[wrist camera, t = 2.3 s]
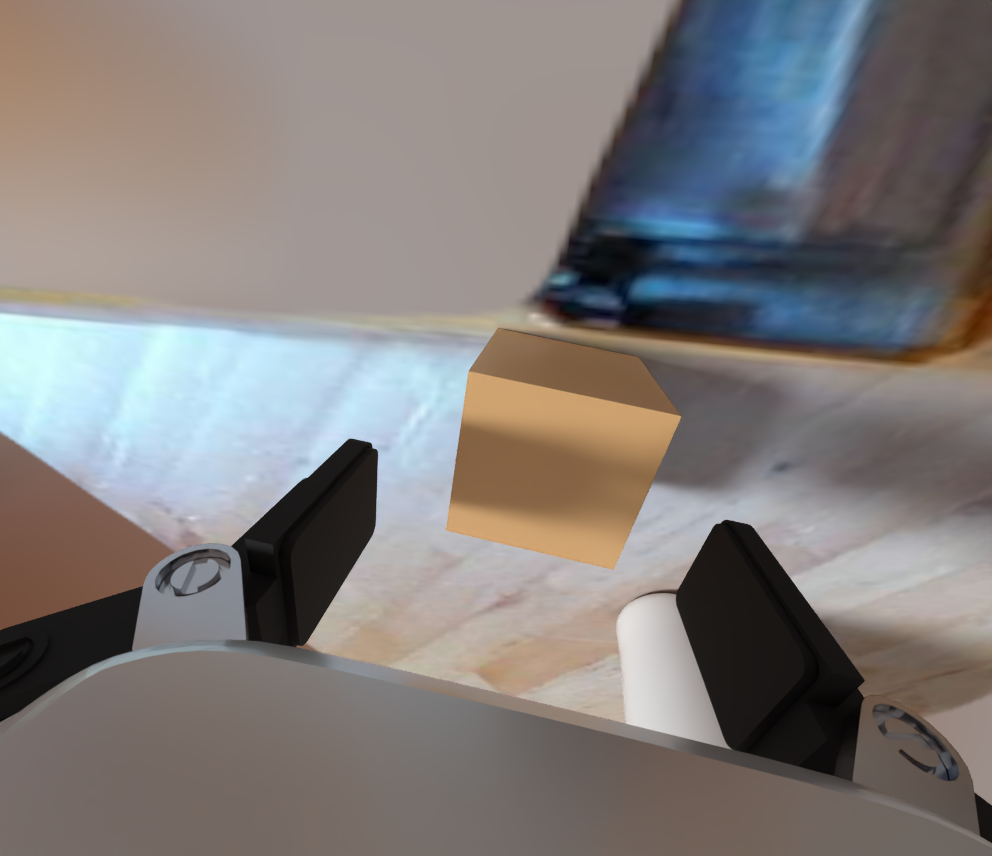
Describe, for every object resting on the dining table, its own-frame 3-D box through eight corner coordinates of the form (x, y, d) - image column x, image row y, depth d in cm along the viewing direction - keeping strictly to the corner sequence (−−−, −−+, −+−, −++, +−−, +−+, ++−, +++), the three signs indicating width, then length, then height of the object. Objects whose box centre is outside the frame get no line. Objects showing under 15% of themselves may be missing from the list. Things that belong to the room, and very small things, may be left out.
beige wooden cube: (638, 357, 16) (681, 416, 10) (596, 474, 18) (613, 569, 13) (497, 328, 16) (468, 371, 11) (477, 448, 19) (446, 530, 13)
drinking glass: (658, 670, 24) (787, 1203, 11) (578, 618, 23) (609, 1137, 10) (751, 622, 21) (1089, 1272, 8) (664, 558, 20) (883, 1189, 7)
